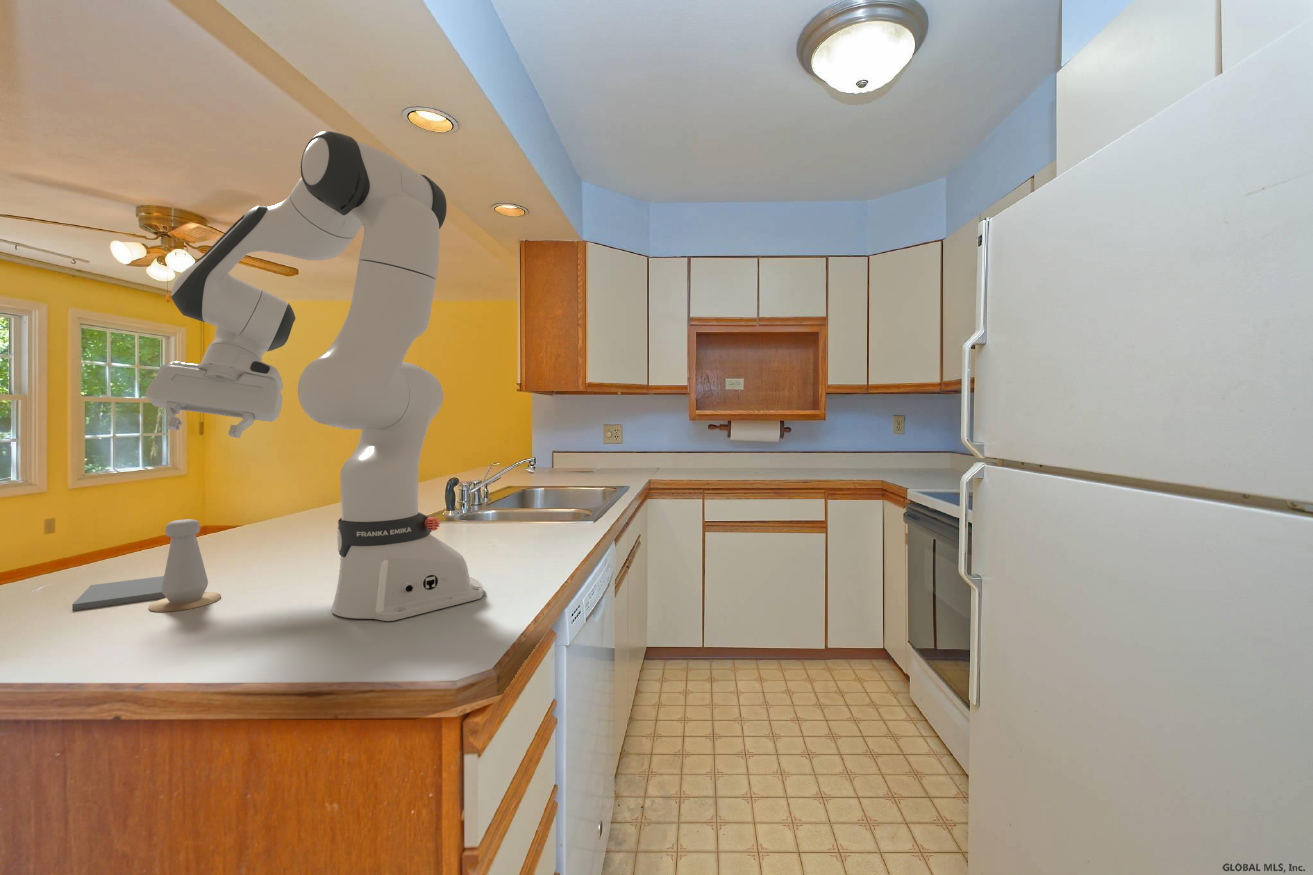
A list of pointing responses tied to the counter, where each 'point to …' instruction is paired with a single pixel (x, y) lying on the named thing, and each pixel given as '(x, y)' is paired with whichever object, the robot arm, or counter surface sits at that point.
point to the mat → (120, 593)
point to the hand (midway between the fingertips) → (203, 432)
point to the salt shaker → (184, 564)
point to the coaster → (165, 605)
